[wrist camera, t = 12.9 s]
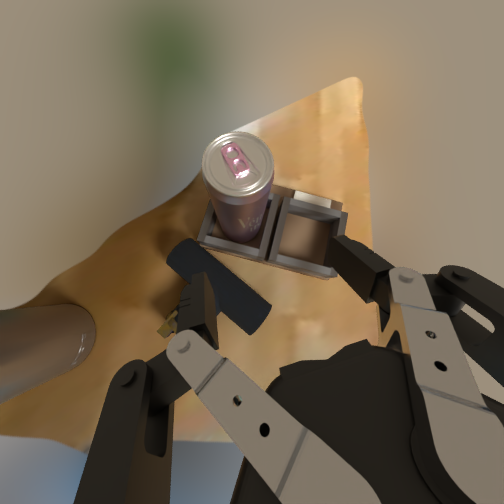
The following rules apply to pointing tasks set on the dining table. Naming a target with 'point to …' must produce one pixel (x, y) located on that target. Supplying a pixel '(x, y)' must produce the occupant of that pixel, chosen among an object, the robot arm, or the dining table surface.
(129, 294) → the dining table surface
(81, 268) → the dining table surface
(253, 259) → the socket board
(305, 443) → the robot arm
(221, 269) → the pipe connector
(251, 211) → the beverage can
